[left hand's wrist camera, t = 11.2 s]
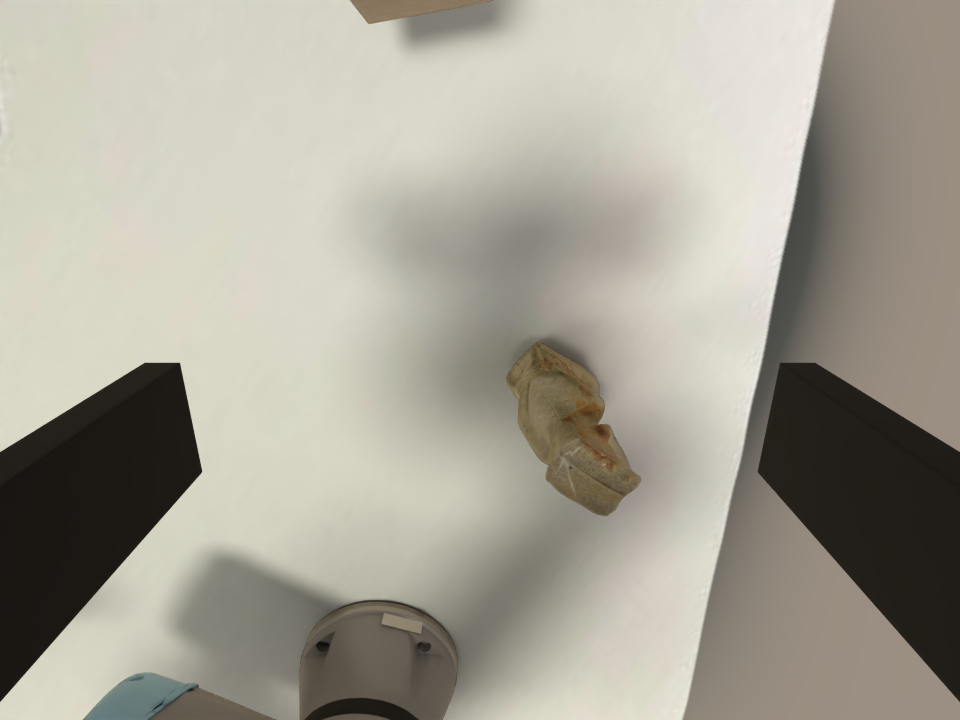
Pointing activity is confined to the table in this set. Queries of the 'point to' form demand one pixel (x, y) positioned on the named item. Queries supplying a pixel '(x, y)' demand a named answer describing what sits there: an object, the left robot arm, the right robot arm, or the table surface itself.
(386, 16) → the box
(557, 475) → the sculpture
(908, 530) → the left robot arm
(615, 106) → the table surface
